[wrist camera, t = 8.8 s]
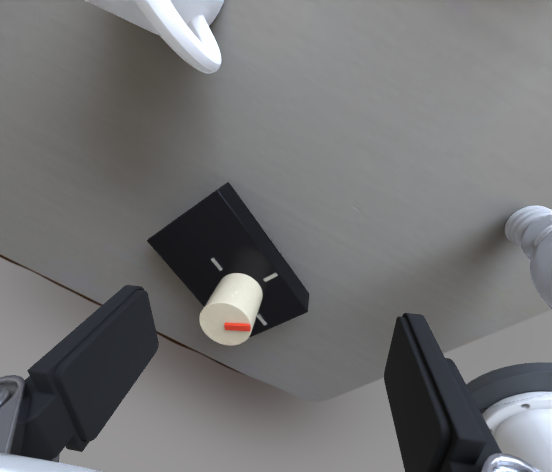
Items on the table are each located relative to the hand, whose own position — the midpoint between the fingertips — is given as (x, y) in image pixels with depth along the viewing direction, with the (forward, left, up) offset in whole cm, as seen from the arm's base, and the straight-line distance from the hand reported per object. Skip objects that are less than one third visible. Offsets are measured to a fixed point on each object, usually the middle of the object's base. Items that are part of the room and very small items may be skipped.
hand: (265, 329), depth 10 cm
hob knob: (-4, +9, -13) cm, 17 cm away
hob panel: (-2, +9, -16) cm, 19 cm away
